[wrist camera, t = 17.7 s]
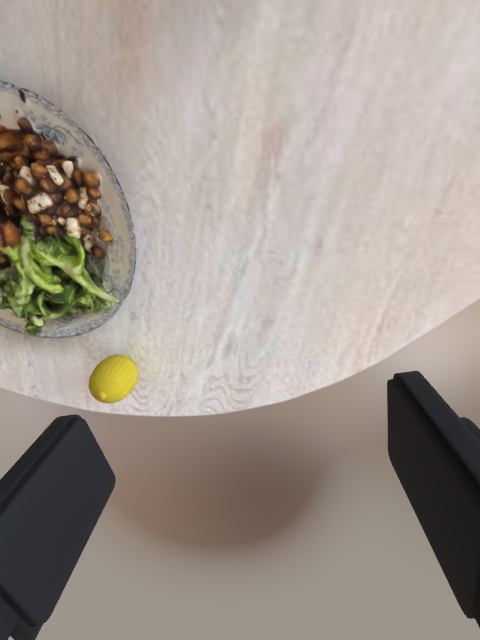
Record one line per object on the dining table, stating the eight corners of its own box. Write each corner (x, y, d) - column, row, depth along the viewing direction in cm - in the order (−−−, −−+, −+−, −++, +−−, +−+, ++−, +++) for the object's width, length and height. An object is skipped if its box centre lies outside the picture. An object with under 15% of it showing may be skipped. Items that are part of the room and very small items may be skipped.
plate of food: (121, 357, 42) (100, 383, 37) (-76, 292, 40) (-130, 308, 34) (168, 146, 31) (147, 136, 25) (-104, 38, 29) (-192, 1, 23)
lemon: (146, 379, 43) (123, 418, 36) (110, 375, 44) (79, 412, 36) (145, 347, 41) (121, 381, 34) (107, 342, 41) (74, 375, 34)
